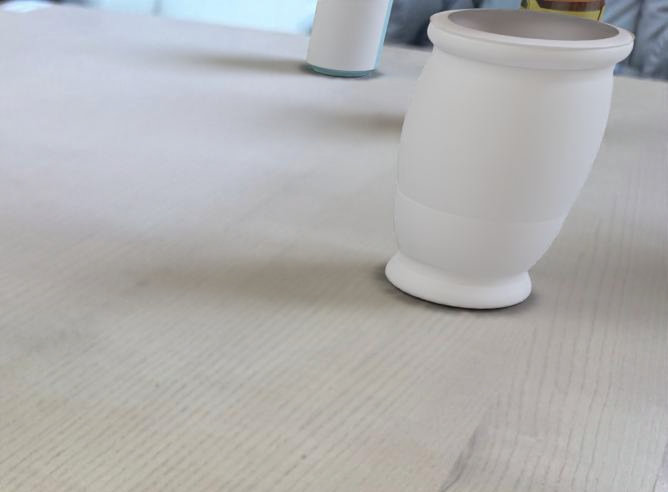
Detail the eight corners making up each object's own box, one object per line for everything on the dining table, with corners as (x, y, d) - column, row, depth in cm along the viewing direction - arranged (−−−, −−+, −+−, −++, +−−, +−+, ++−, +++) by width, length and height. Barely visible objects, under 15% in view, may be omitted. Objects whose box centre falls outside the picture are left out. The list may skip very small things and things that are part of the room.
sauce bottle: (509, 119, 107) (584, -138, 96) (577, 135, 103) (664, -131, 92) (470, 130, 104) (544, -134, 92) (540, 147, 100) (625, -127, 88)
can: (293, 70, 121) (318, -63, 114) (320, 58, 126) (346, -70, 119) (361, 82, 118) (391, -55, 111) (386, 69, 122) (417, -62, 115)
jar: (433, 326, 69) (513, 47, 60) (333, 262, 77) (391, 8, 68) (586, 309, 71) (684, 40, 63) (474, 249, 79) (547, 3, 71)
